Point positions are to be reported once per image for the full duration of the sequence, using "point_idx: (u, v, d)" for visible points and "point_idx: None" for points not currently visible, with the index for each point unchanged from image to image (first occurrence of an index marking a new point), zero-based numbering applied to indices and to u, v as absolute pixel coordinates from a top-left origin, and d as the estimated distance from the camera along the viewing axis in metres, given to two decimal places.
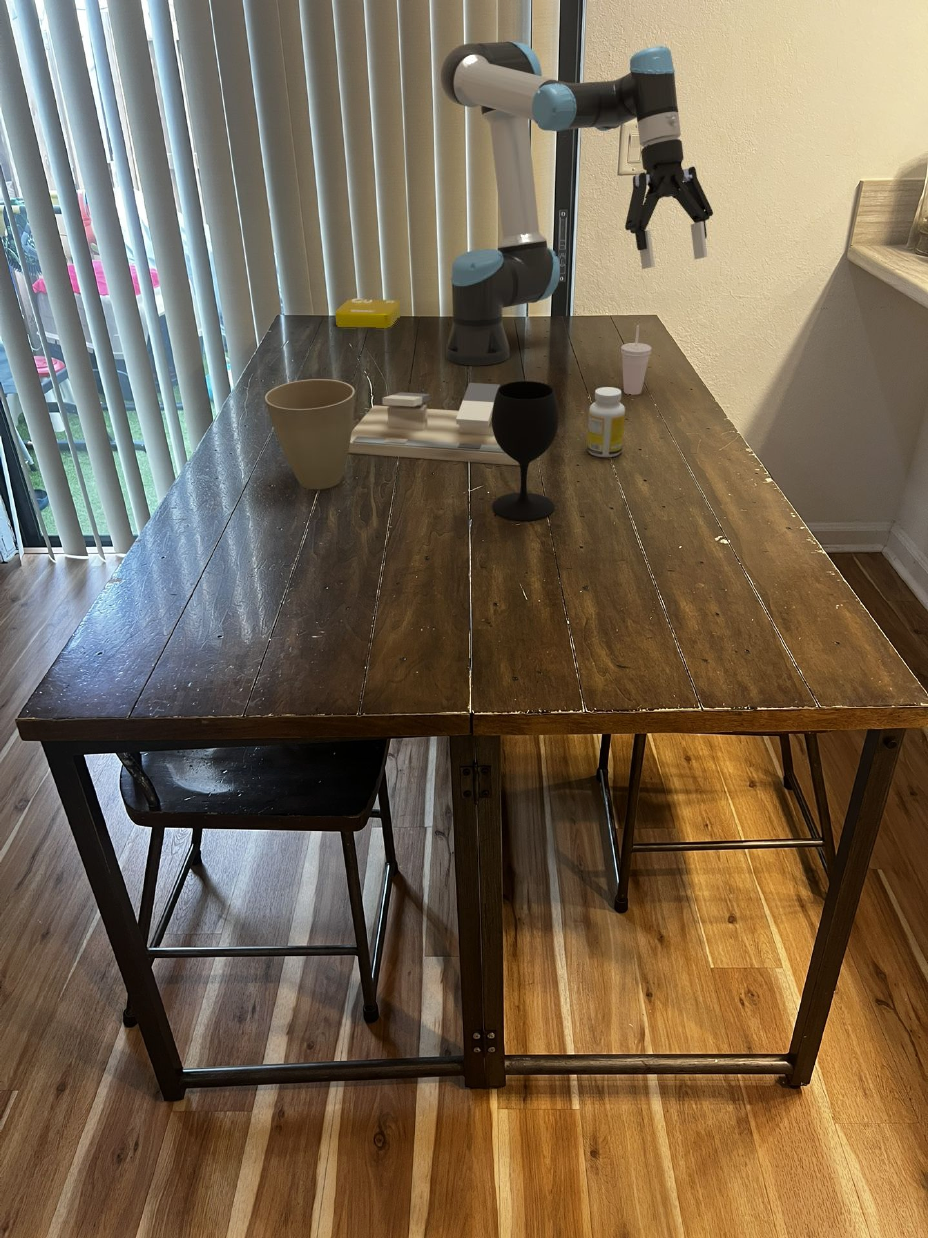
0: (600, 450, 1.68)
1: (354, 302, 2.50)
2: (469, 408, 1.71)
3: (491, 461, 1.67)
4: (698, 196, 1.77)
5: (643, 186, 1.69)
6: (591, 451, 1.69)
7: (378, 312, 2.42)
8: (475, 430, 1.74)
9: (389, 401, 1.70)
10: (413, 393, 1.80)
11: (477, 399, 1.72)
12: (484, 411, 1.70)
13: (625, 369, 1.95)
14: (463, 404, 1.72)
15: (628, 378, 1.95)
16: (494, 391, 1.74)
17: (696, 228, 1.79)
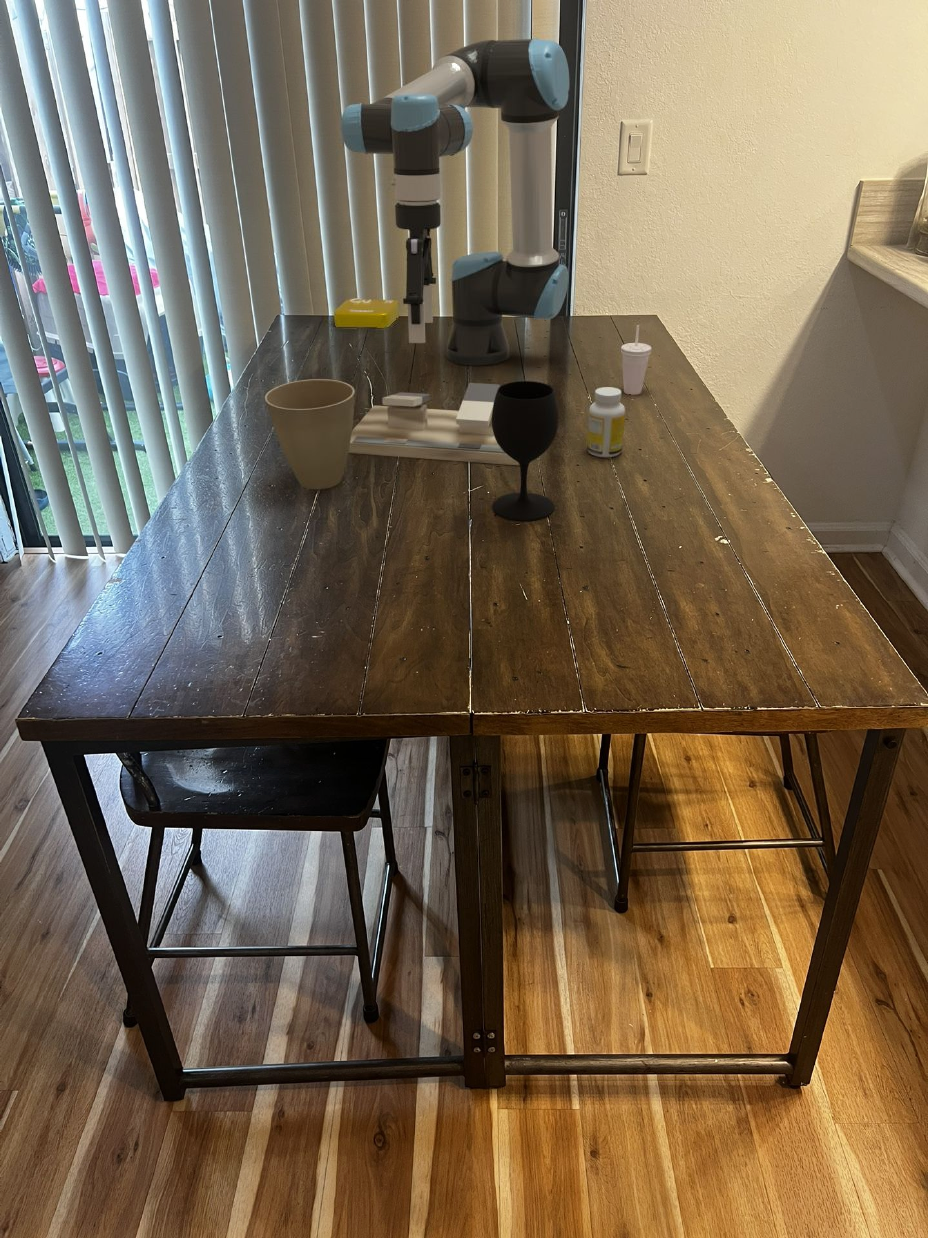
0: (600, 450, 1.68)
1: (353, 302, 2.50)
2: (469, 408, 1.71)
3: (491, 461, 1.67)
4: None
5: None
6: (591, 451, 1.69)
7: (377, 312, 2.42)
8: (475, 430, 1.74)
9: (389, 401, 1.70)
10: (413, 393, 1.80)
11: (477, 399, 1.72)
12: (484, 411, 1.70)
13: (625, 369, 1.95)
14: (463, 404, 1.72)
15: (628, 378, 1.95)
16: (494, 391, 1.74)
17: None
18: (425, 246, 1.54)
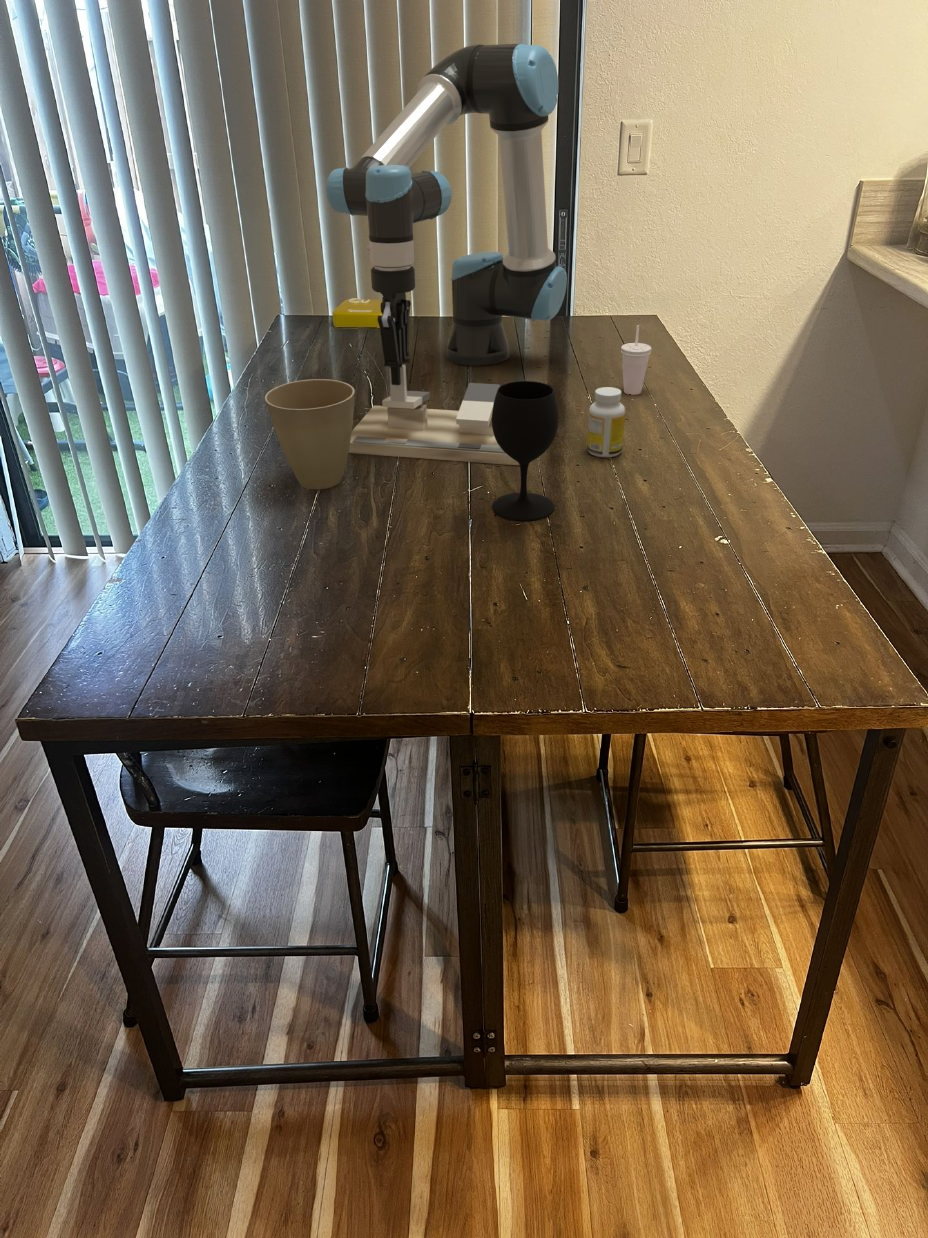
0: (600, 450, 1.68)
1: (351, 302, 2.50)
2: (469, 408, 1.71)
3: (491, 461, 1.67)
4: None
5: None
6: (591, 451, 1.69)
7: (375, 312, 2.42)
8: (475, 430, 1.74)
9: (389, 403, 1.70)
10: (413, 391, 1.80)
11: (477, 399, 1.72)
12: (484, 411, 1.70)
13: (625, 369, 1.95)
14: (463, 404, 1.72)
15: (628, 378, 1.95)
16: (494, 391, 1.74)
17: None
18: (399, 311, 1.60)
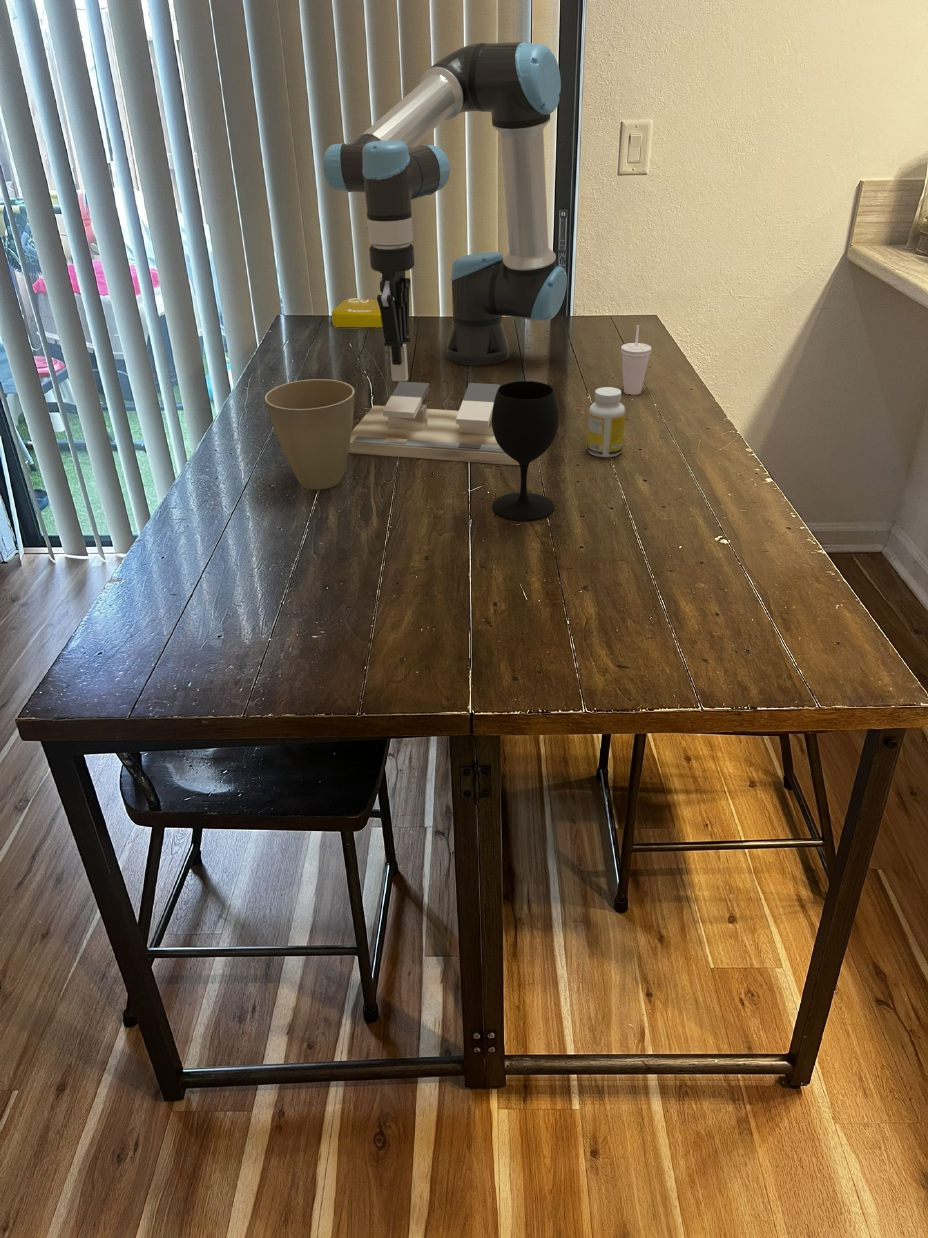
0: (600, 450, 1.68)
1: (351, 302, 2.50)
2: (469, 408, 1.71)
3: (491, 461, 1.67)
4: None
5: None
6: (591, 451, 1.69)
7: (374, 312, 2.42)
8: (475, 430, 1.74)
9: (389, 414, 1.71)
10: (412, 384, 1.79)
11: (477, 399, 1.72)
12: (484, 411, 1.70)
13: (625, 369, 1.95)
14: (463, 404, 1.72)
15: (628, 378, 1.95)
16: (494, 391, 1.74)
17: None
18: (398, 290, 1.58)
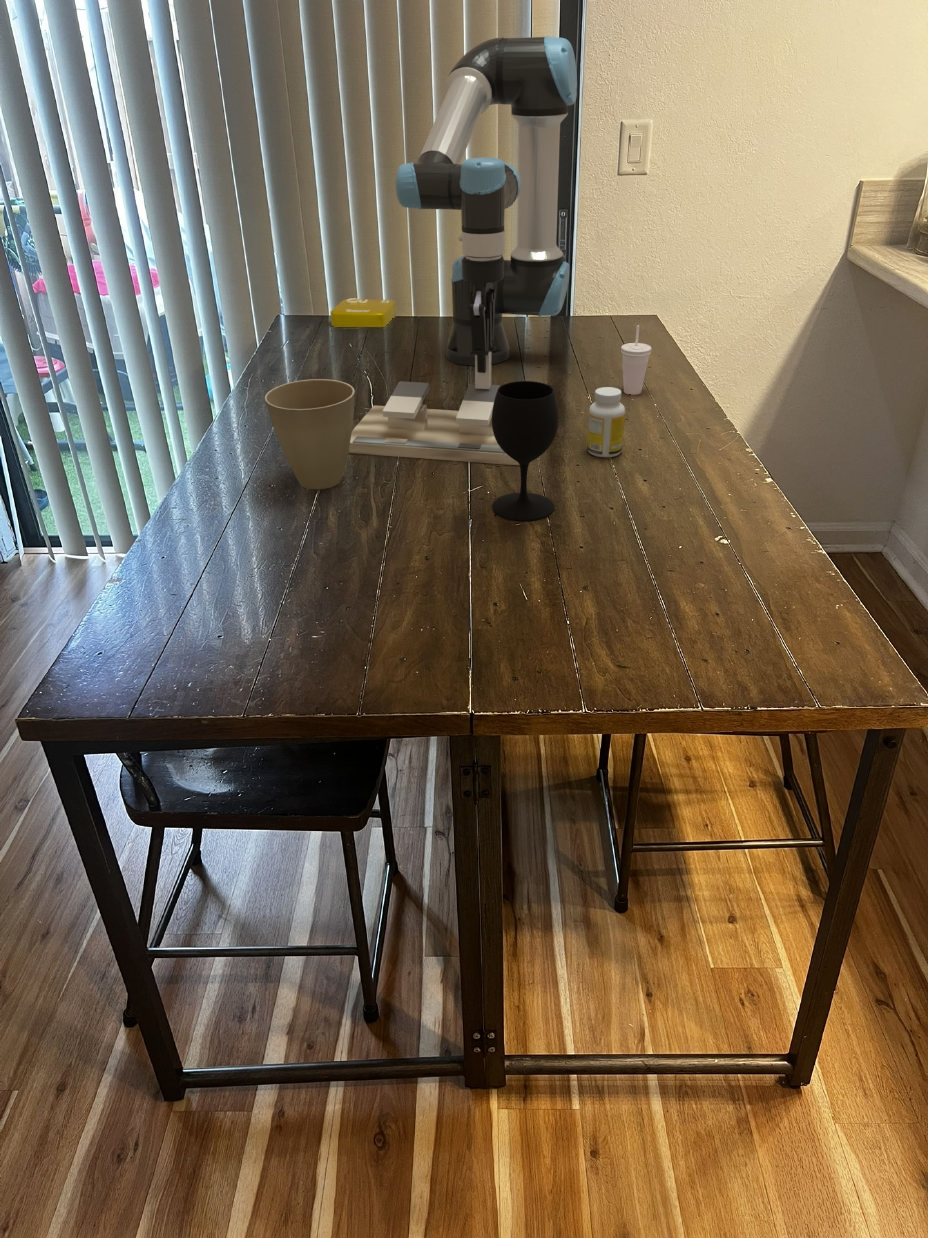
0: (600, 450, 1.68)
1: (349, 302, 2.50)
2: (469, 408, 1.71)
3: (491, 461, 1.67)
4: None
5: None
6: (591, 451, 1.69)
7: (373, 312, 2.42)
8: (475, 430, 1.74)
9: (390, 414, 1.71)
10: (412, 383, 1.79)
11: (477, 399, 1.72)
12: (484, 410, 1.70)
13: (625, 369, 1.95)
14: (463, 404, 1.72)
15: (628, 378, 1.95)
16: (494, 391, 1.74)
17: None
18: (488, 300, 1.65)
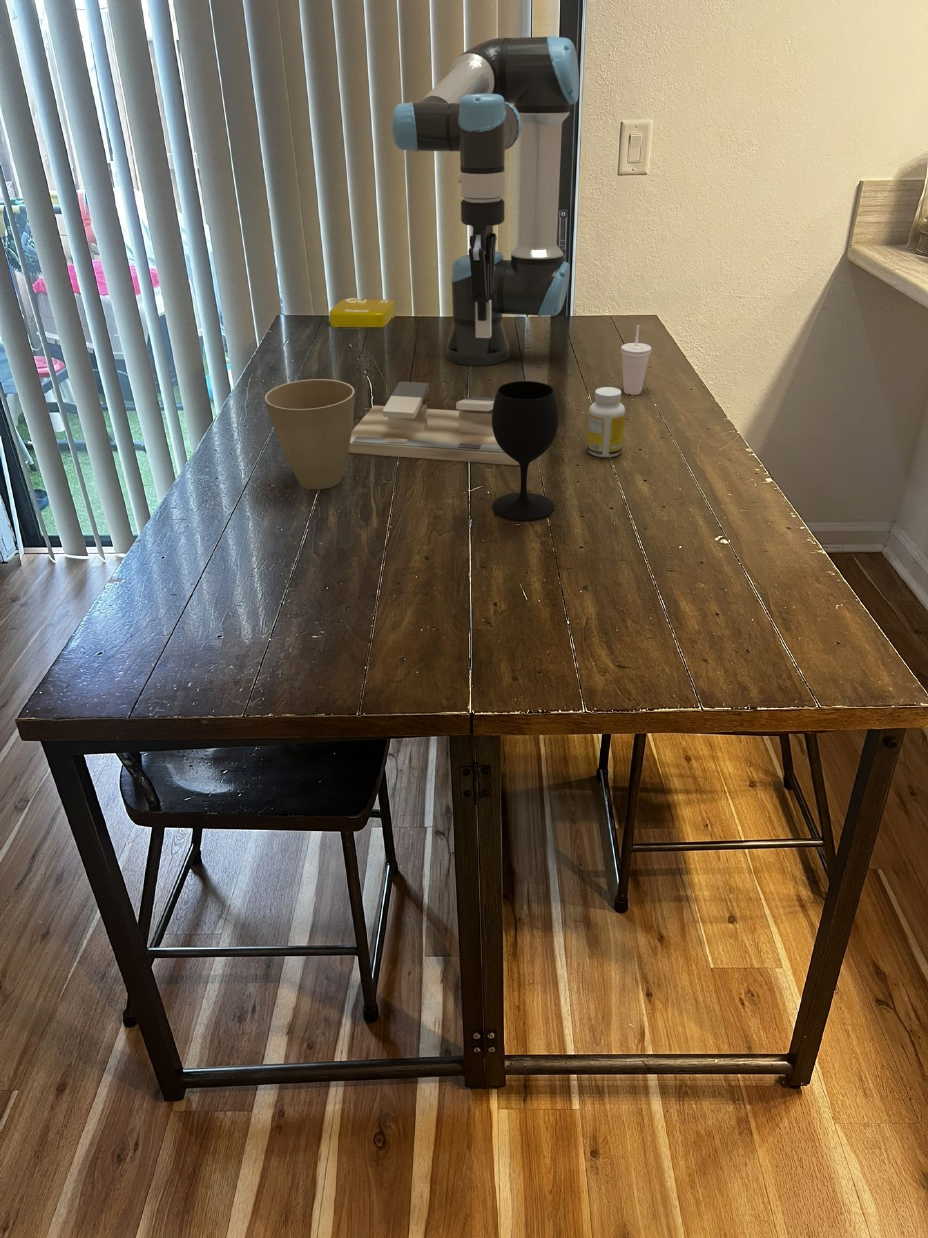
0: (600, 450, 1.68)
1: (348, 302, 2.50)
2: (469, 401, 1.70)
3: (491, 461, 1.67)
4: None
5: None
6: (591, 451, 1.69)
7: (372, 312, 2.42)
8: (475, 430, 1.74)
9: (390, 414, 1.71)
10: (412, 383, 1.79)
11: (477, 399, 1.73)
12: (485, 402, 1.69)
13: (625, 369, 1.95)
14: (464, 400, 1.72)
15: (628, 378, 1.95)
16: None
17: None
18: (488, 244, 1.60)
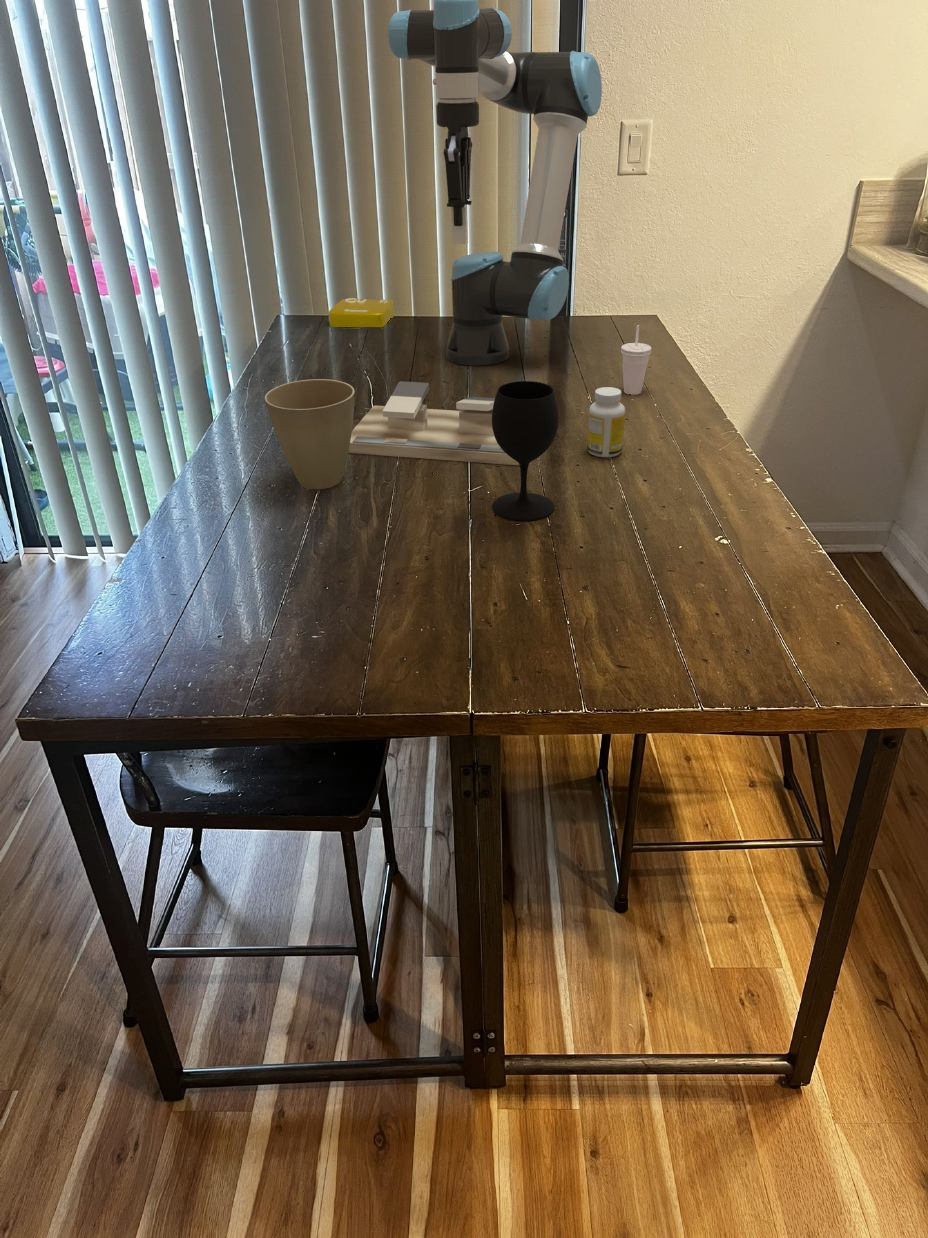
0: (600, 450, 1.68)
1: (348, 302, 2.50)
2: (469, 401, 1.70)
3: (491, 461, 1.67)
4: None
5: None
6: (591, 451, 1.69)
7: (371, 312, 2.42)
8: (475, 430, 1.74)
9: (390, 414, 1.71)
10: (412, 383, 1.79)
11: (477, 399, 1.73)
12: (485, 402, 1.69)
13: (625, 369, 1.95)
14: (464, 400, 1.72)
15: (628, 378, 1.95)
16: None
17: None
18: (463, 147, 1.63)
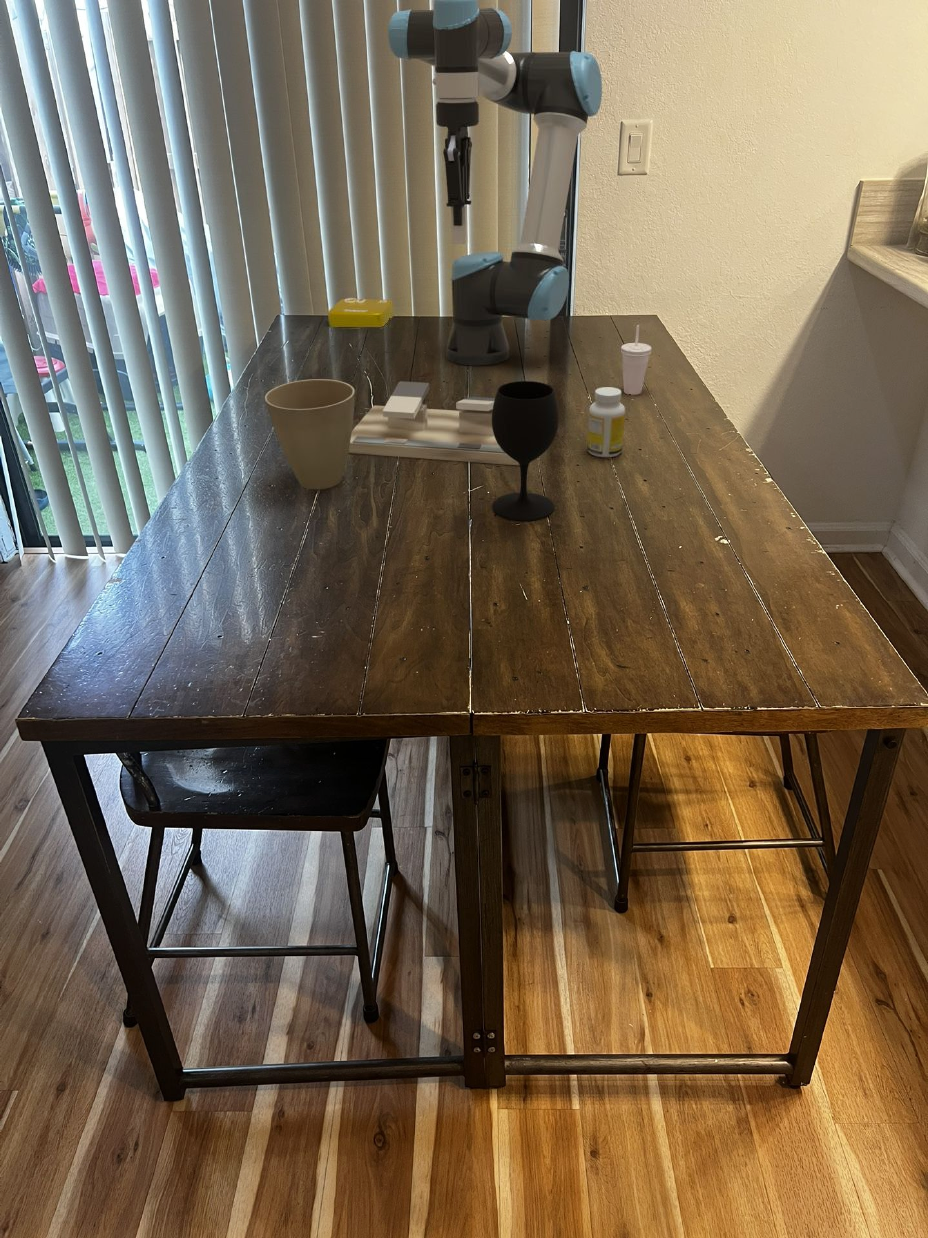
0: (600, 450, 1.68)
1: (347, 302, 2.50)
2: (469, 401, 1.70)
3: (491, 461, 1.67)
4: None
5: None
6: (591, 451, 1.69)
7: (371, 312, 2.42)
8: (475, 430, 1.74)
9: (390, 414, 1.71)
10: (412, 383, 1.79)
11: (477, 399, 1.73)
12: (485, 402, 1.69)
13: (625, 369, 1.95)
14: (464, 400, 1.72)
15: (628, 378, 1.95)
16: None
17: None
18: (463, 146, 1.63)
